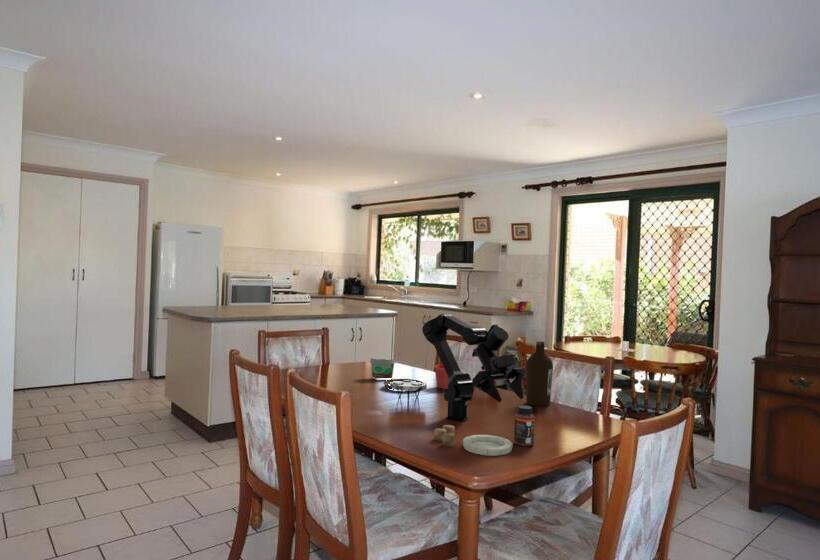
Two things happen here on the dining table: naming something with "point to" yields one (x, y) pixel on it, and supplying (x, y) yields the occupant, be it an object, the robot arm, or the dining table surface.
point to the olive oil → (539, 377)
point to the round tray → (487, 445)
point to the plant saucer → (396, 380)
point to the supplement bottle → (524, 426)
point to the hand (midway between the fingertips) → (511, 400)
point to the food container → (382, 368)
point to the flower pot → (441, 377)
